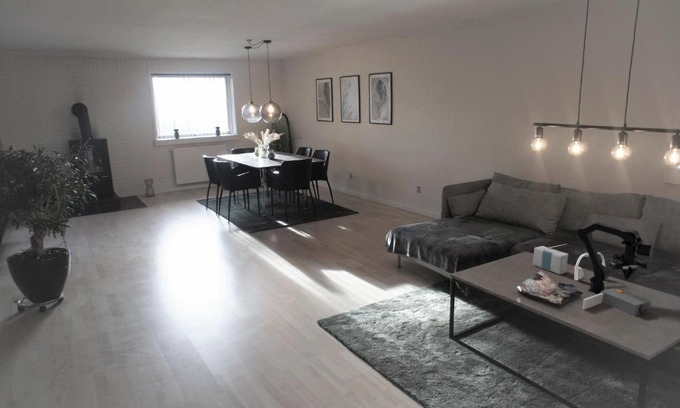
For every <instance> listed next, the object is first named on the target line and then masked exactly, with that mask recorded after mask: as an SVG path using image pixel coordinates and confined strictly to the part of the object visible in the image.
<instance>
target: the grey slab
mask: <svg viewBox="0 0 680 408" xmlns="http://www.w3.org/2000/svg"><path fill="white" fill-rule="evenodd" d="M601 293H604V299H603V303H602V304H605V305H607V306H610V307H612V308H615V309H616V310H620V311H622V312H624V313H627V314H628V315H631V316H634V317H635V316H639V315H647V314H648V313H649V312H650V311H651V306H652V305H651V304H652V300H649V299H646V298H644V297H642V296H639V295H637V294H635V293H631V292H628V291H627V290H623V289H621V288H618V287H612V288H608V289H604V291H601Z"/></svg>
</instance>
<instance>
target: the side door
mask: <svg viewBox="0 0 680 408" xmlns="http://www.w3.org/2000/svg"><path fill="white" fill-rule="evenodd" d="M603 299H604V293H600V294H594V295H593V296H592V295H591V296H589V297H587V298H583V301H582V310H587V309H590V308H593V307H594V306H597V305H600V304H604V303H603Z"/></svg>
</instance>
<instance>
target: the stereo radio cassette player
mask: <svg viewBox="0 0 680 408" xmlns="http://www.w3.org/2000/svg"><path fill="white" fill-rule="evenodd" d="M563 245H565V246H566V243H564V244H560V245H556V246H555V245H554V246H549V247H547V246H545V245H540V246H537V247H534V249H533V250H534V251H533V261H532V264H533V266H535V267H538V268H542V269H544V270H546V271H549V272H552V273H554V274H557V275H563V274H564V273H566V272H567V269H568V267H567V266H568V259H569V253H567V252H564V251H560V250H557V249H553V248H556V247H559V246H563Z"/></svg>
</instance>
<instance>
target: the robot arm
mask: <svg viewBox="0 0 680 408" xmlns="http://www.w3.org/2000/svg"><path fill="white" fill-rule="evenodd" d="M595 231H600V232H603V233H606V234H610V235H613V236H616V237H618V238H620V239H622V241H620V245H624V246H623V247H624V248H623V252H621V254H620V255H619V253H613V255H612V259H613V261H609V264H608V266H607V265H606V267H605V266H604V265H603V264H602V259H601V258H600V256H599V255H600V254H599V255H598V253H597V252H598V250H597V249H596V245H595V244H594V241H593V236H594V235H593V232H595ZM576 236H577V238H578V239H579V240H580V241H581V242H582V243H583V245H584V247H585V250H586V251H587V252H586V253H588V254H589V256H588V257H589V259H590V263H591V264H592V266H593V276H592V277H590V278H589V282H590V288H589V289H588V291H589V292H592V293H593V294H595V295H597V294H600V293H601V291H604V290H605V281H606V280H607V279H609V278H610V276H611V275H610V273H611V271H610V270H609V268H608V267H610V268H612V269H613V270H622V273H623V277H624V279H625V280H626V281H628V280H629V279H630V277H631V276H632V275H633V274H634V272H636V271H638V268H636V267H640V268H641V269H648V268H649V267H648V266H649V265H648V263H647V262H645V261H643V260H640V259H639V260H636V259H638V256H642V257H646V258H652V257H653V254H654V252H655V251H654V245H653V244H649V243H644V241H643V240H642V238H641V237H640V233H639V231H638V230H635V229H630V228H629V229H627V228H619V227H616V226H612V225H608V224H605V223H602V222H600V221H596V222H594V223H592V224H590V225H589V226H584V227H580V228H579V229H577V231H576ZM614 260H616V261H614Z"/></svg>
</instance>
